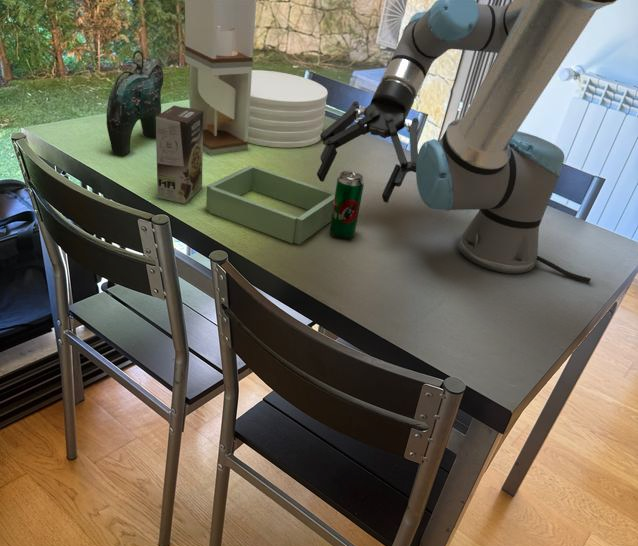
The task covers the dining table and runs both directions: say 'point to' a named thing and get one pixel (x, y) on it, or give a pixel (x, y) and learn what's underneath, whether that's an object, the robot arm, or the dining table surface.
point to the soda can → (346, 204)
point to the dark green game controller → (134, 104)
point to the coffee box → (179, 153)
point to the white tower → (221, 69)
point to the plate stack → (285, 110)
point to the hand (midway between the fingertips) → (351, 188)
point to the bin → (265, 219)
